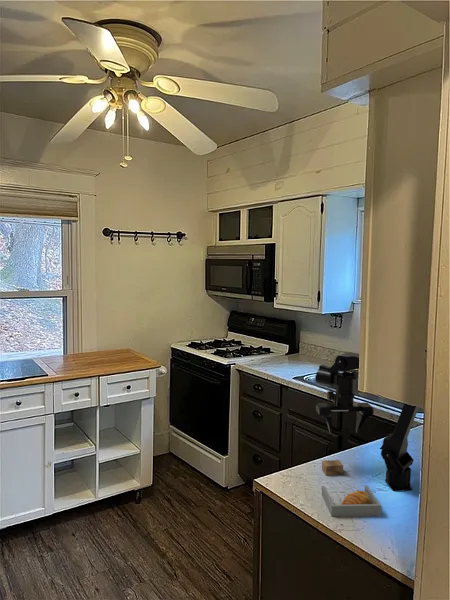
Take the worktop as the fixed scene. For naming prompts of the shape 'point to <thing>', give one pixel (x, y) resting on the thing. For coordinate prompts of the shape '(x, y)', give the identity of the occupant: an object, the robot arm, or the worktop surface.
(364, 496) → the pastry
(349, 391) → the robot arm
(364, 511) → the bay
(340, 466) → the cardboard brown box
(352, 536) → the worktop surface
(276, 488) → the worktop surface
